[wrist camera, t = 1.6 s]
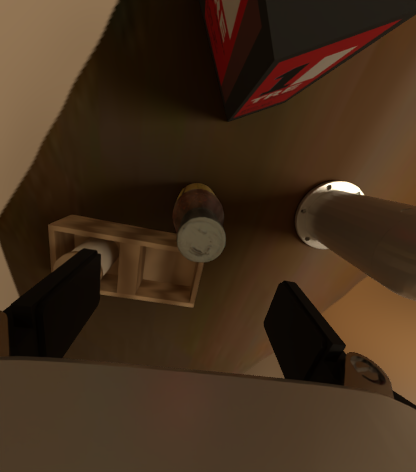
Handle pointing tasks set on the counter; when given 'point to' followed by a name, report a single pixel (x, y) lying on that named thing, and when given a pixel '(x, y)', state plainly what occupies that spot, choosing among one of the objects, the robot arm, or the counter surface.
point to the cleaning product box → (289, 44)
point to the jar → (102, 246)
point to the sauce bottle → (199, 223)
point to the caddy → (133, 260)
